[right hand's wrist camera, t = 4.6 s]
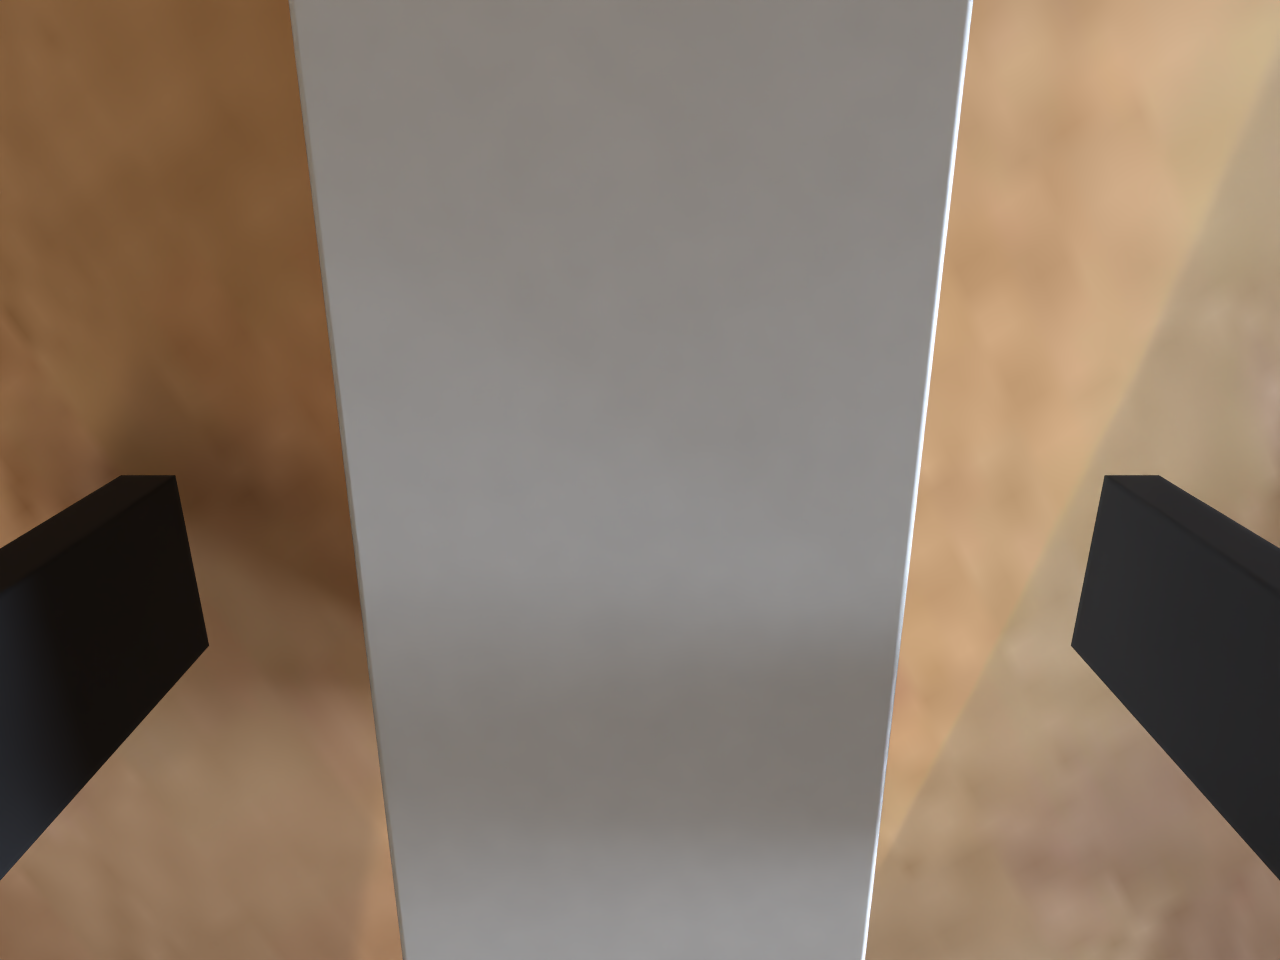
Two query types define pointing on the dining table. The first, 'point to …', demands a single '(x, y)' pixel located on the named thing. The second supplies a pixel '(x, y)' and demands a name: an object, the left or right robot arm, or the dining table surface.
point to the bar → (632, 448)
